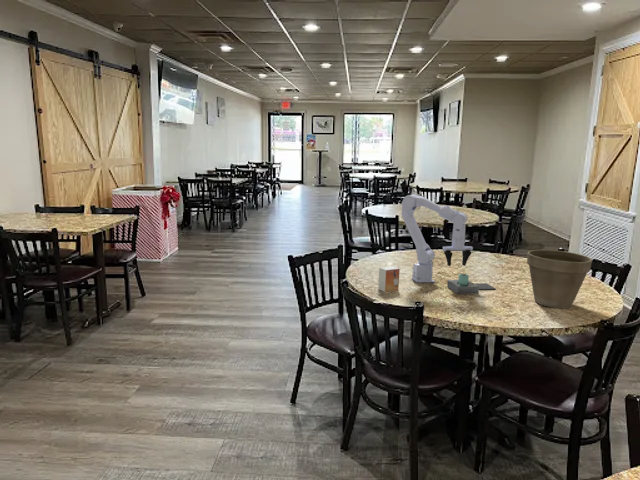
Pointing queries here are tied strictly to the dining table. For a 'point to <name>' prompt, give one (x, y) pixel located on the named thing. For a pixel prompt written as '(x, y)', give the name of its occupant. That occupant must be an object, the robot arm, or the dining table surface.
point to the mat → (485, 286)
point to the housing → (463, 287)
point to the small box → (388, 279)
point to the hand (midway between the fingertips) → (456, 265)
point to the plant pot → (557, 276)
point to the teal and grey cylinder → (463, 279)
